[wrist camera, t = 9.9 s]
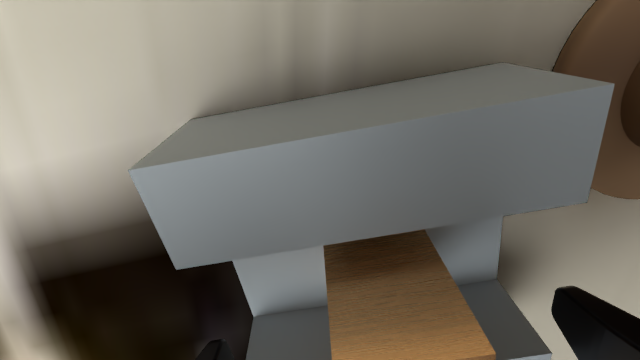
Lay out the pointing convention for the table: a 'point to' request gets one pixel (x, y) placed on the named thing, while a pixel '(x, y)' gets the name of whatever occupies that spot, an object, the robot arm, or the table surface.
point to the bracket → (375, 189)
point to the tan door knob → (628, 94)
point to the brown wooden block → (398, 303)
